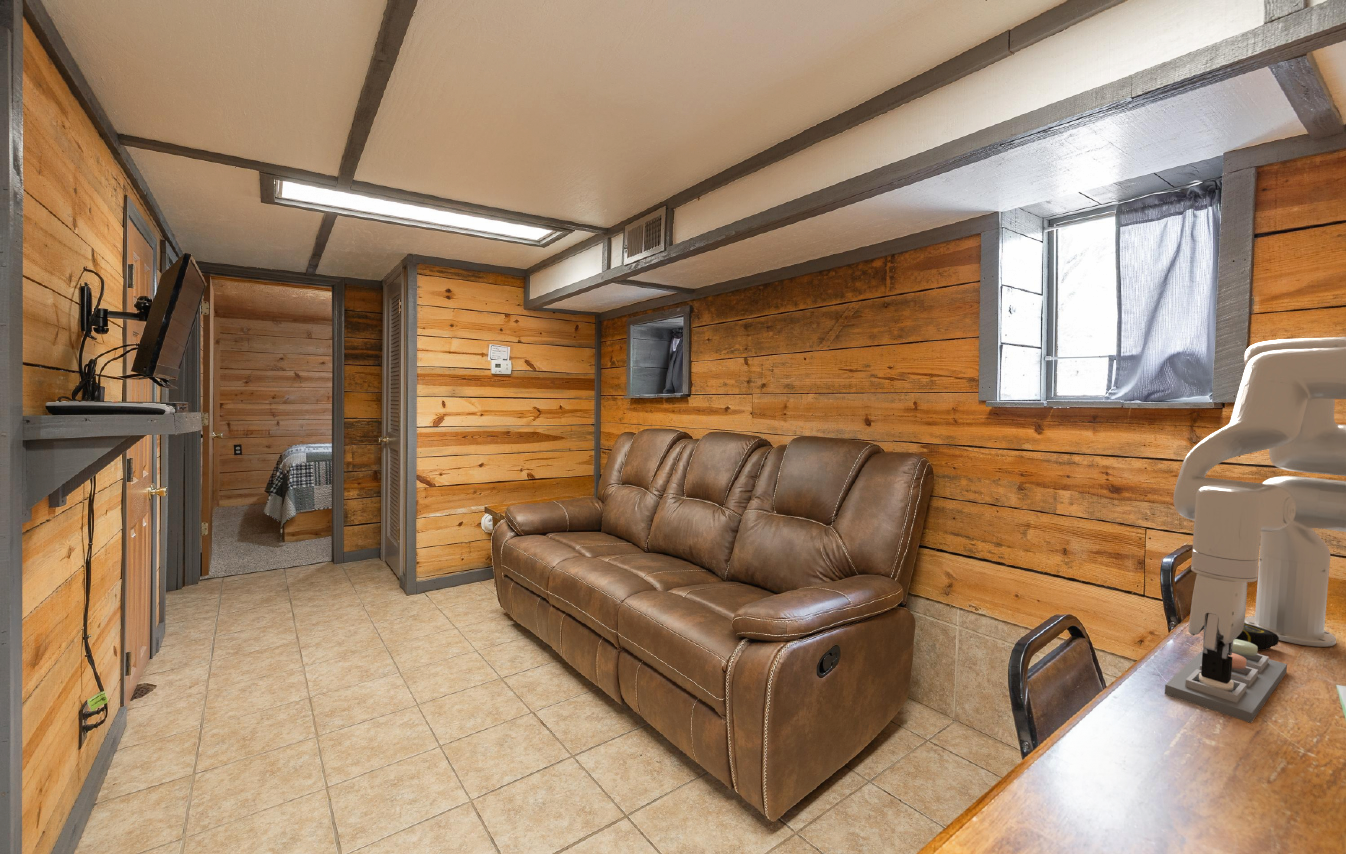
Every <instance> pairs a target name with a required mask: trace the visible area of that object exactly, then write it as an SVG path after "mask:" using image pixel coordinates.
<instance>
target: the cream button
mask: <svg viewBox="0 0 1346 854" xmlns="http://www.w3.org/2000/svg"><path fill="white" fill-rule="evenodd" d="M1199 682H1200V683H1203V684H1206V685H1209V686H1212V687H1215V688H1219V689H1222V690H1225V691H1228V692H1232V691H1233V685H1234V682H1233V681H1232V680H1230V681H1229V683H1228V684H1225V683H1222V682H1219V681H1215V680H1212V679H1209V678H1206V677H1203V676H1202V675H1201V673H1199Z"/></svg>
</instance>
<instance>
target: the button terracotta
mask: <svg viewBox="0 0 1346 854" xmlns="http://www.w3.org/2000/svg"><path fill="white" fill-rule="evenodd" d="M1228 656H1229V655H1228ZM1231 657H1233V658H1232V668H1236V669H1245V668H1246V661H1247V660H1246V658H1244V657H1243V656H1240V655H1238V654H1235V653H1232V655H1231Z"/></svg>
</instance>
